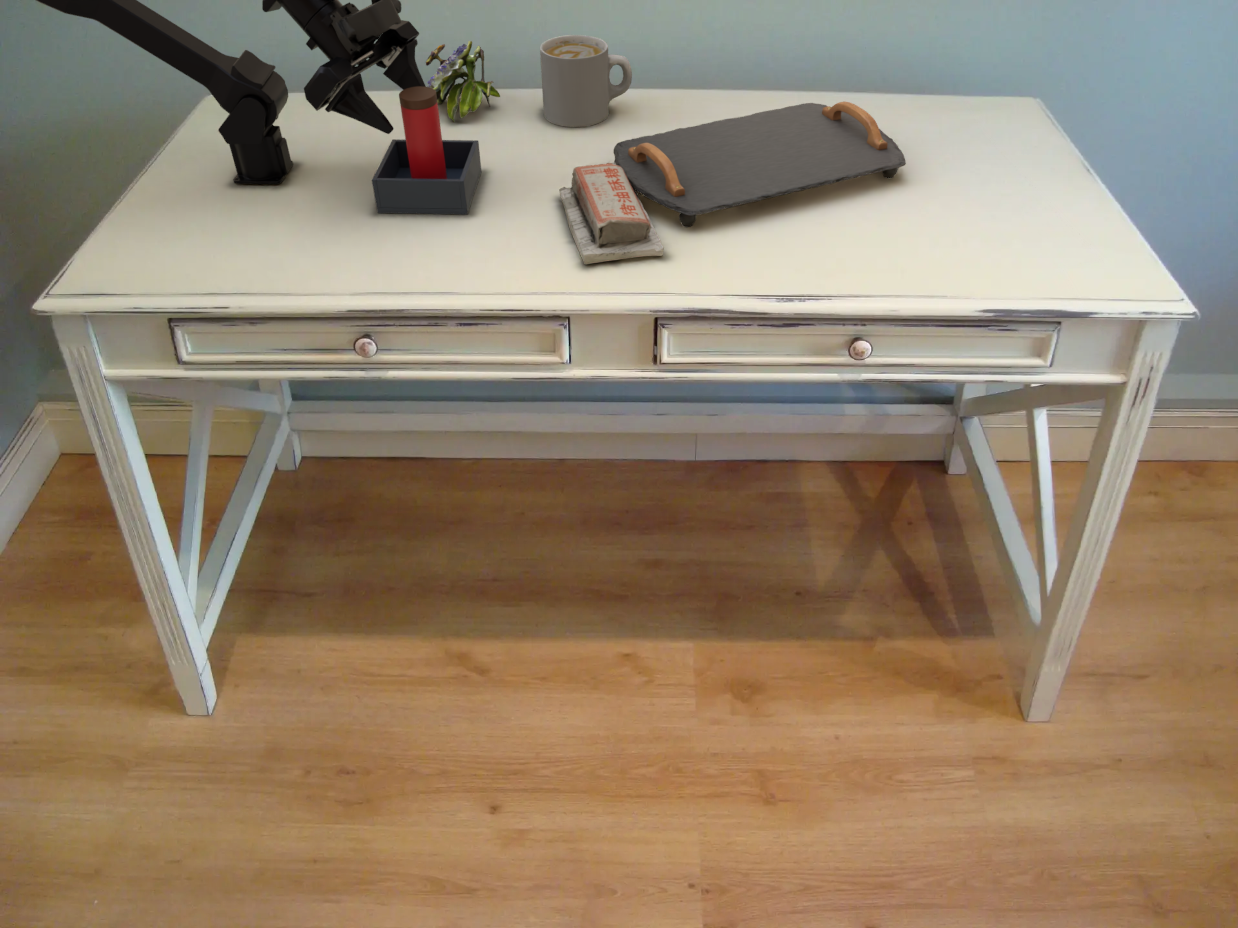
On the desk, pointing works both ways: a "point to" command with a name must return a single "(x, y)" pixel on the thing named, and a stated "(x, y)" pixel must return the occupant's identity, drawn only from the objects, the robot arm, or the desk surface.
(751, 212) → the desk surface
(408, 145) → the candy tube
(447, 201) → the desk bin
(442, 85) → the passion flower
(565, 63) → the coffee mug
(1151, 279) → the desk surface
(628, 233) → the packaged product
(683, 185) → the serving tray
